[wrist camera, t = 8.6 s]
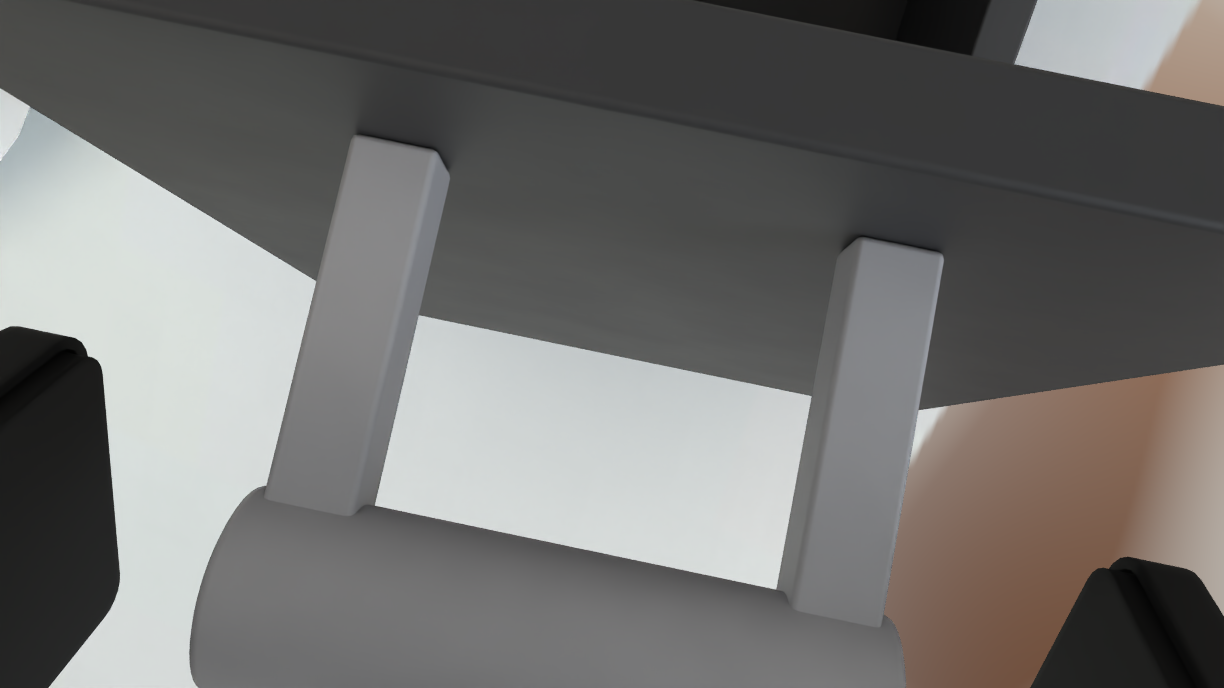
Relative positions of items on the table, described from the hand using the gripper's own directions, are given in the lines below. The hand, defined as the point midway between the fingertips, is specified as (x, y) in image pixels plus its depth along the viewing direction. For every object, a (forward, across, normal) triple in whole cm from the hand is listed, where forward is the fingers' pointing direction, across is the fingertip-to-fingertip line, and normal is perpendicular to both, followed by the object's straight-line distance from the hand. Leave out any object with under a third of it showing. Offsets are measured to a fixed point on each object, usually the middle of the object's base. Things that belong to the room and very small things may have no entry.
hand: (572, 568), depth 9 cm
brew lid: (+5, 0, -1) cm, 5 cm away
